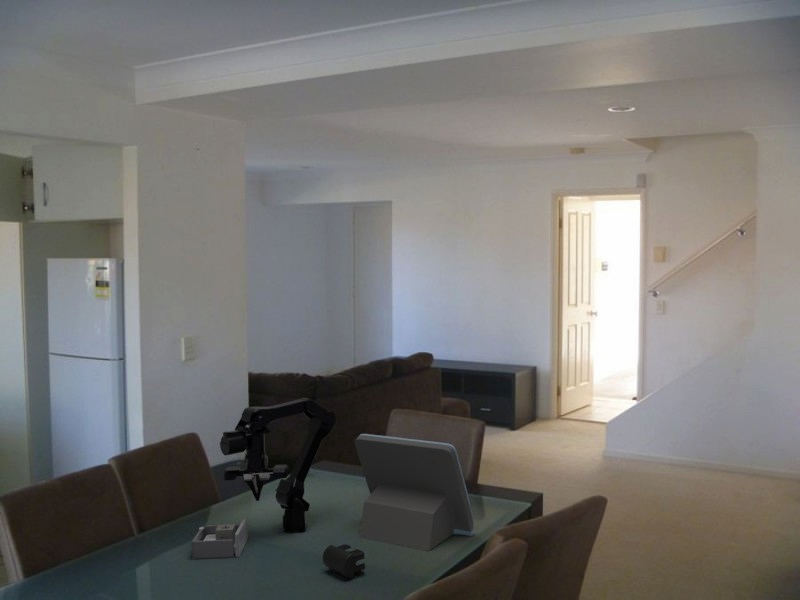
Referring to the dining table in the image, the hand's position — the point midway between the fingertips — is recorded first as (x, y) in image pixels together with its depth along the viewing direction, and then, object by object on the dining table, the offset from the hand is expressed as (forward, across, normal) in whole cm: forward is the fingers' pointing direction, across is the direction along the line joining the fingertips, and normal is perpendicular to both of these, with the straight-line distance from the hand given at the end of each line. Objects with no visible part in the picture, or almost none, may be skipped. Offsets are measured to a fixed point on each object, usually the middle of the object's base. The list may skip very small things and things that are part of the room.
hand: (257, 500), depth 241 cm
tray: (+12, +10, +7) cm, 17 cm away
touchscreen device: (+12, -46, +1) cm, 47 cm away
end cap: (+12, -27, +29) cm, 41 cm away
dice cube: (+11, +9, +7) cm, 15 cm away
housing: (+12, +11, +7) cm, 18 cm away
